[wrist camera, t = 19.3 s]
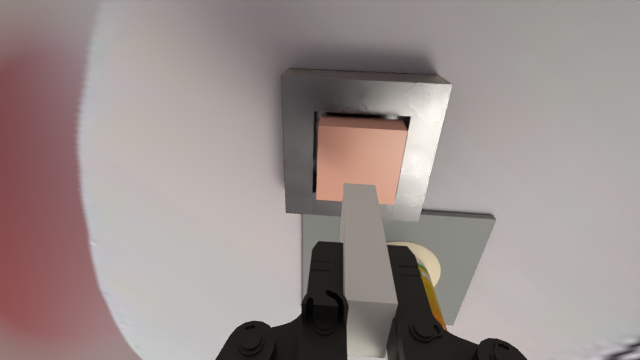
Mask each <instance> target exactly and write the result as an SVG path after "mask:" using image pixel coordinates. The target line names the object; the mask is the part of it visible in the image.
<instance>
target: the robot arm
mask: <svg viewBox="0 0 640 360" xmlns="http://www.w3.org/2000/svg"><path fill="white" fill-rule="evenodd" d="M386 350H387V356H388V360H527V359H526V358H525V356H524V355H523V354H522V353H521V352H520V351H519V350H518V349H517V348H515V347H514V346H512V345H511V344H509V343H507V342H505V341H502V340H499V339H493V338H488V339H485V340H483V341H481V342H480V344H479V345H478V344H475V343H472V342H470V341H467V340H464V339H462V338H459V337H457V336H455V335H453V334H451V333H449V332H448V331H446V330H445V329H444V328H443V327H442V325H441V324H440V323H439V322H438V321H437V320H436V319H435V318H434V315H433V313H432V310H431V307H430V304H429V300H428V297H427V294H426V290H425V287H424V284H423V280H422V278H421V274H420V270H419V269H418V263H417V260H416V257H415V255H414V254H413V253H412V251H411V250H410V249H409V248H408V246H399V245H387V244H386V239H385V233H384V228H383V223H382V218H381V212H380V207H379V202H378V197H377V191H376V186H375V185H366V184H348V183H344V187H343V199H342V211H341V224H340V242H327V241H318V242H317V244H316V245H315V246H314V248H313V249H312V254H311V263H310V271H309V279H308V287H307V294H306V295H305V296H304V299H303V301H302V313H301V314H300V315H299V316H298V317H297V318H296V319H295V320H293V321H292V322H290V323H287V324H284V325H280V326H276V327H272V328H271V327H270V326H269V325H267V324H265V323H264V322H261V321H250V322H246V323H244V324H242V325H240V326H239V327H237V328H236V329H235V330H234V331H233V333H232V334H231V335H230V336H229V338H228V340H227V341H226V343H225V345H224V346H223V348H222V350H221V351H220V353H219V355H218V356H217V358H216V360H347V355H354V356H366V357H379V358H385V354H386Z"/></svg>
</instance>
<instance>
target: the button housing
mask: <svg viewBox="0 0 640 360" xmlns="http://www.w3.org/2000/svg"><path fill="white" fill-rule="evenodd" d="M281 85H282V115H283V144H284V173H285V203H286V213H294V214H309V215H323V216H338V217H341V211H342V201H329V200H316V190H317V154H318V125H319V121H320V117H321V116H340V117H359V118H379V119H398V120H402V121H403V122H404V124H405V126H406V128H407V130H408V133H407V138H406V143H405V149H404V154H403V159H402V165H401V170H400V175H399V181H398V186H397V191H396V197H395V202H394V205H389V204H379V207H380V212H381V218H382V220H396V221H410V222H419V218H420V214H421V210H422V206H423V202H424V198H425V194H426V190H427V186H428V182H429V178H430V174H431V169H432V165H433V161H434V157H435V153H436V149H437V145H438V141H439V137H440V133H441V129H442V125H443V121H444V117H445V113H446V109H447V105H448V101H449V96H450V92H451V88H452V84H451V83H450V82H448V81H447V80H445V79H444V78H442V77H441V76H439V75H432V74H409V73H387V72H364V71H342V70H319V69H297V68H289V69H288V70H287V71H286V72H285V73H284V74H283V75H282V76H281Z"/></svg>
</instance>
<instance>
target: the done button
mask: <svg viewBox="0 0 640 360" xmlns="http://www.w3.org/2000/svg"><path fill="white" fill-rule="evenodd" d="M407 133H408V130H407V128H406V126H405V124H404V122H403V121H402V120H398V119H379V118H359V117H340V116H321V117H320V121H319V125H318V154H317V190H316V200H329V201H342V199H343V187H344V183H348V184H366V185H375V186H376V191H377V197H378V202H379V204H389V205H394V202H395V197H396V191H397V186H398V181H399V175H400V170H401V165H402V159H403V154H404V149H405V143H406V138H407Z"/></svg>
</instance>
